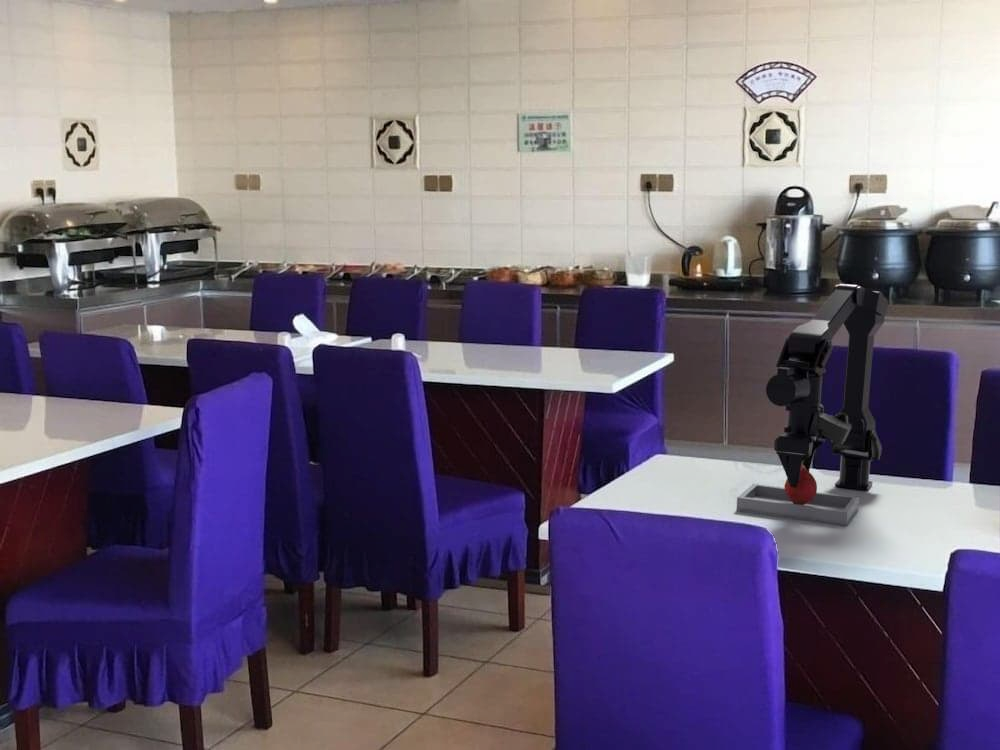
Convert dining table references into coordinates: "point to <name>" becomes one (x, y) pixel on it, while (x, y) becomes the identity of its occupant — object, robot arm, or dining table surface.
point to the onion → (802, 488)
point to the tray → (816, 510)
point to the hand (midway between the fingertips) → (799, 481)
